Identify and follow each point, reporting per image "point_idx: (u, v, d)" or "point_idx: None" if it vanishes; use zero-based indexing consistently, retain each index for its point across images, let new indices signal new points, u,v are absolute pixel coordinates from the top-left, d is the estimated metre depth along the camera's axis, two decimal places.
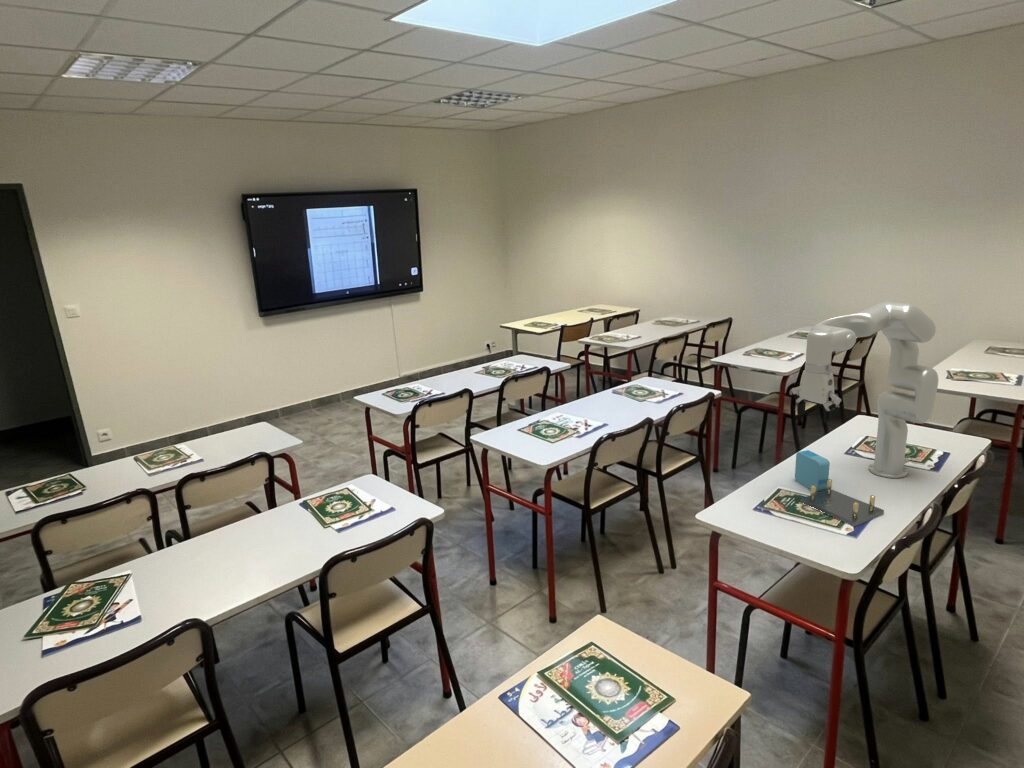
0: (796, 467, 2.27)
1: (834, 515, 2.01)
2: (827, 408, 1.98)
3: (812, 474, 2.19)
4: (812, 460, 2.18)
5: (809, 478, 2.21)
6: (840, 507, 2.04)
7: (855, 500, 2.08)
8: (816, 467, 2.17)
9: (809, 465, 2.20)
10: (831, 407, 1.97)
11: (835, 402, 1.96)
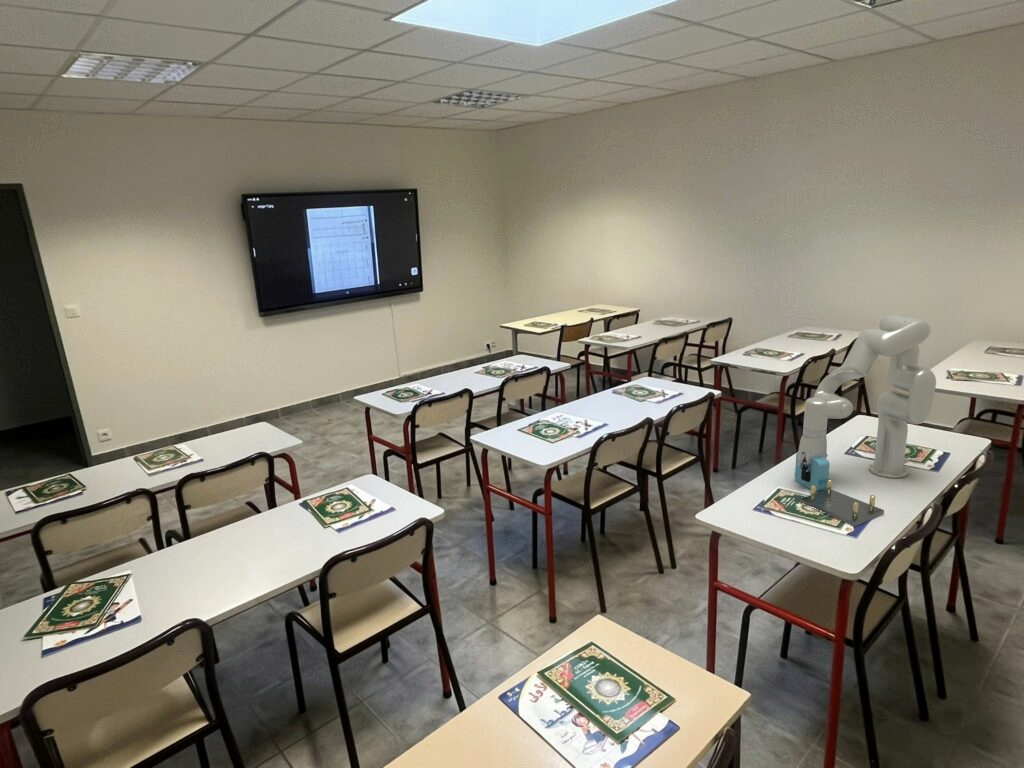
0: (796, 467, 2.27)
1: (834, 515, 2.01)
2: None
3: (812, 474, 2.19)
4: None
5: None
6: (840, 507, 2.04)
7: (855, 500, 2.08)
8: (816, 467, 2.17)
9: None
10: None
11: None
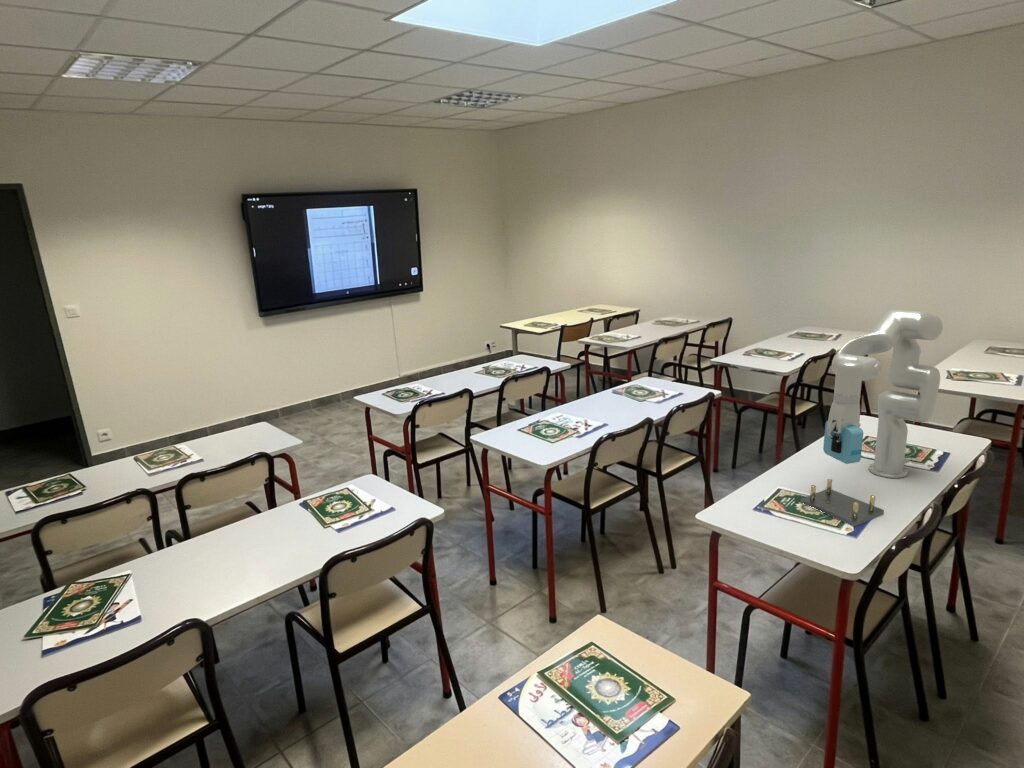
0: (825, 438, 2.07)
1: (834, 515, 2.01)
2: None
3: (843, 444, 1.99)
4: (844, 429, 1.98)
5: None
6: (840, 507, 2.04)
7: (855, 500, 2.08)
8: (849, 437, 1.96)
9: None
10: None
11: None
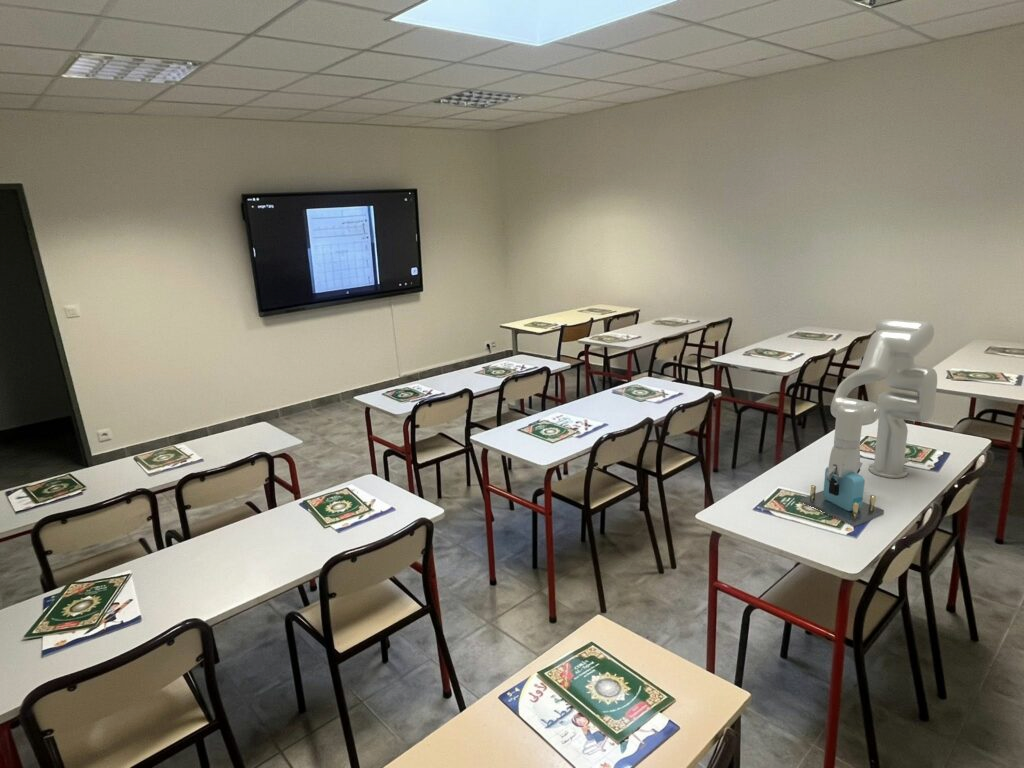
0: (825, 484, 2.09)
1: (834, 515, 2.01)
2: None
3: (845, 492, 2.01)
4: (845, 477, 2.00)
5: (841, 496, 2.03)
6: (840, 507, 2.04)
7: None
8: (850, 485, 1.99)
9: (841, 482, 2.02)
10: (857, 472, 2.05)
11: (859, 466, 2.06)
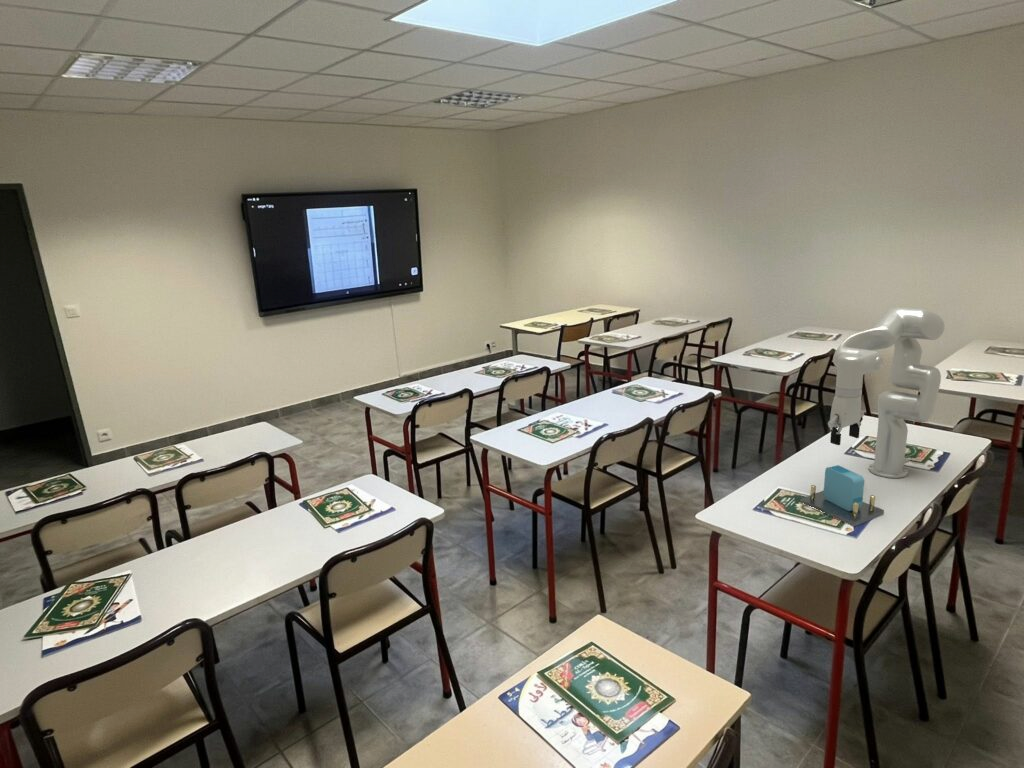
0: (825, 484, 2.09)
1: (834, 515, 2.01)
2: (859, 424, 2.04)
3: (845, 492, 2.01)
4: (845, 477, 2.00)
5: (841, 496, 2.03)
6: (840, 507, 2.04)
7: None
8: (850, 485, 1.99)
9: (841, 482, 2.02)
10: (860, 421, 2.04)
11: (862, 415, 2.05)
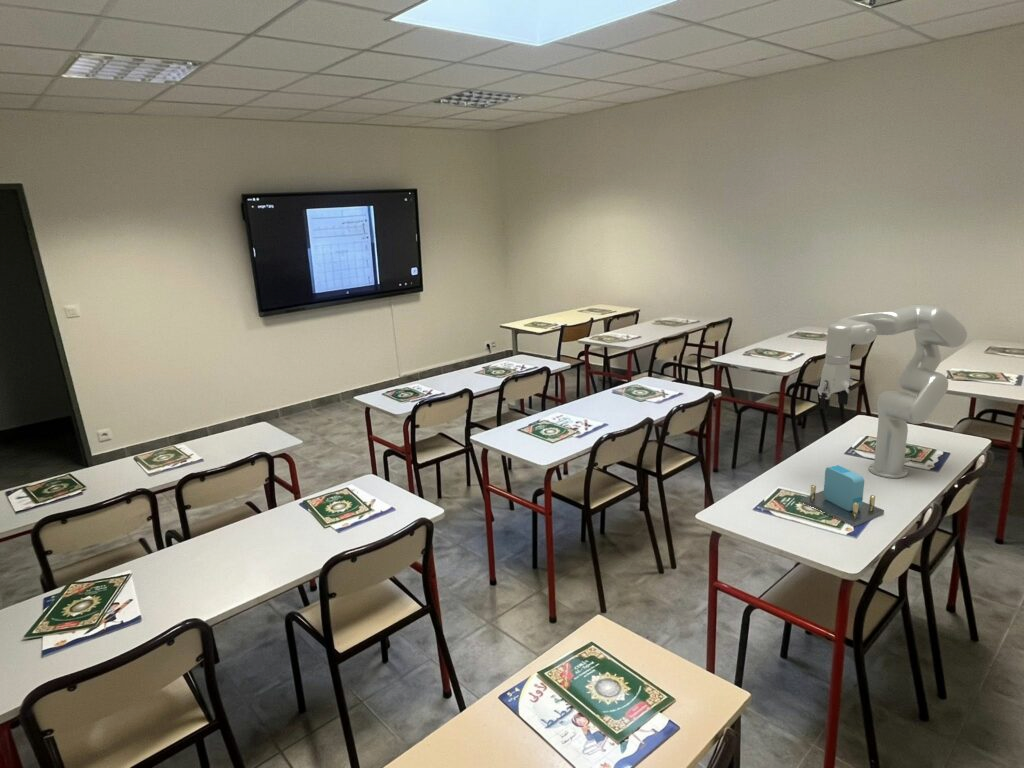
0: (825, 484, 2.09)
1: (834, 515, 2.01)
2: (848, 391, 2.16)
3: (845, 492, 2.01)
4: (845, 477, 2.00)
5: (841, 496, 2.03)
6: (840, 507, 2.04)
7: None
8: (850, 485, 1.99)
9: (841, 482, 2.02)
10: (848, 389, 2.16)
11: (850, 383, 2.17)
